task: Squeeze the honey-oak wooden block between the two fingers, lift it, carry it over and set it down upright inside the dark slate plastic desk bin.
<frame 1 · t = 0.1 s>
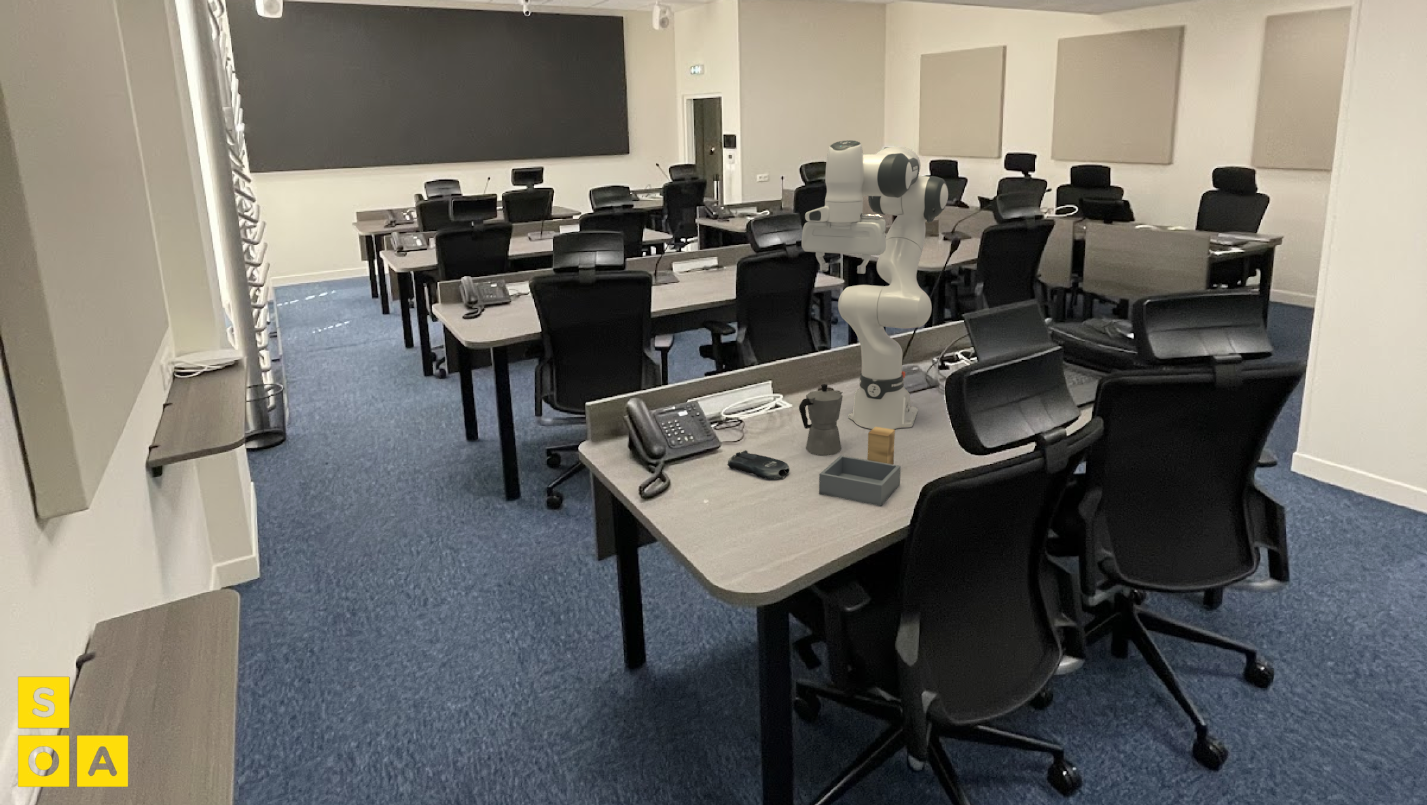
hand: (842, 272, 208), 48 cm above the table, tool pointing down, fingers open, 8 cm apart
coffeepot: (820, 451, 228), on the table
electronic device: (760, 472, 216), on the table
oak block: (880, 469, 215), on the table
desk bin: (859, 489, 204), on the table
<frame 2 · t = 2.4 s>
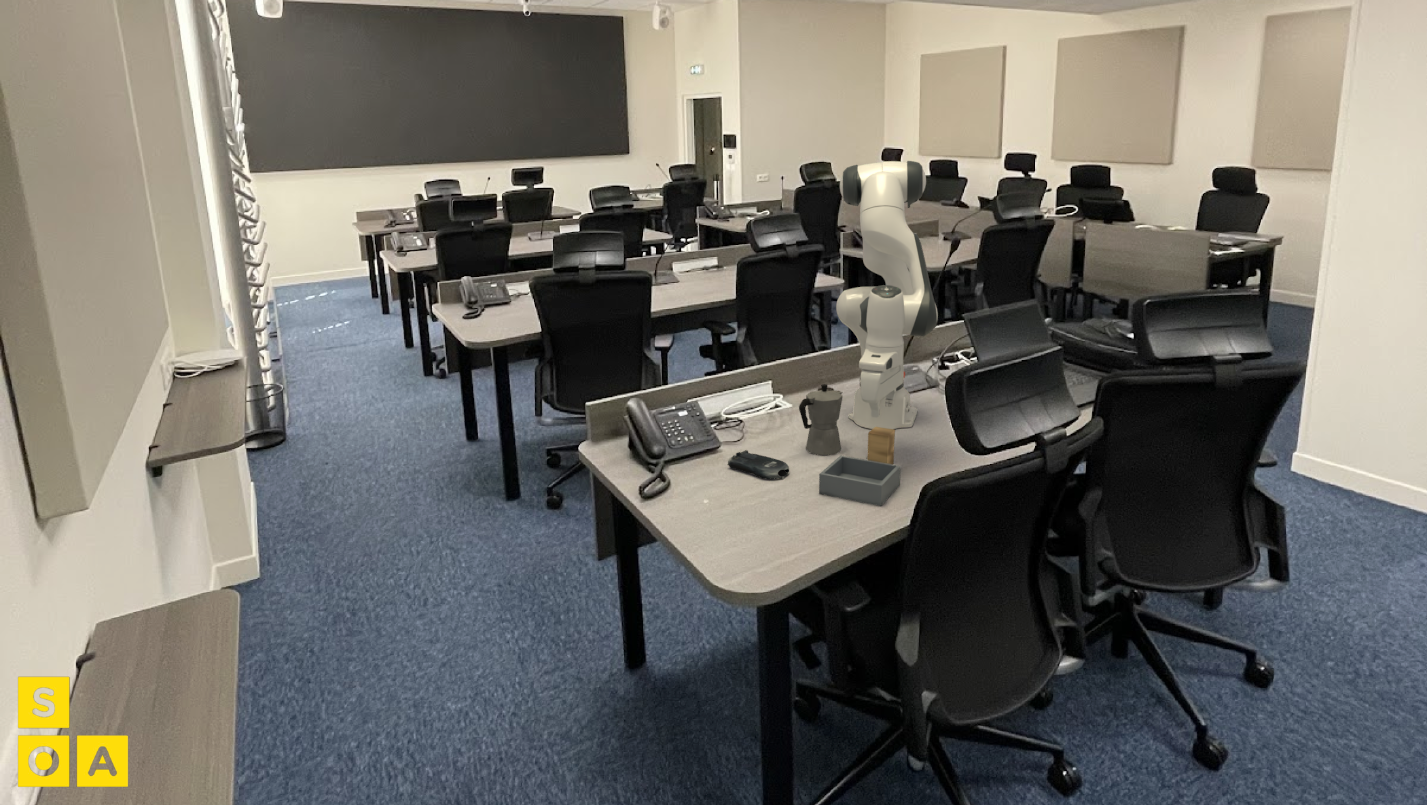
hand: (882, 411, 210), 15 cm above the table, tool pointing down, fingers open, 8 cm apart
nothing on the table moved.
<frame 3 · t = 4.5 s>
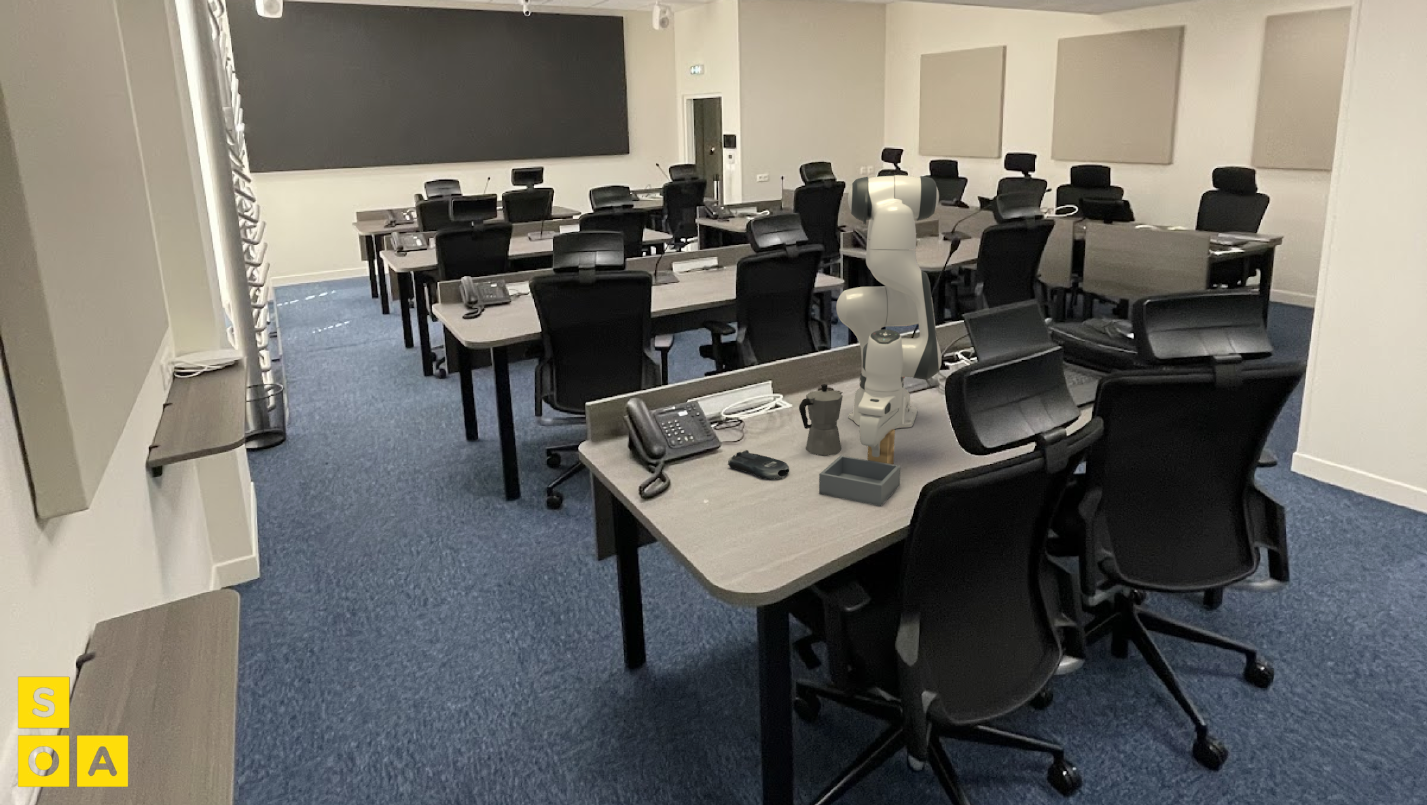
hand: (880, 451, 214), 5 cm above the table, tool pointing down, fingers closed on oak block, 5 cm apart
oak block: (880, 469, 215), on the table, touching gripper
everything else where it was.
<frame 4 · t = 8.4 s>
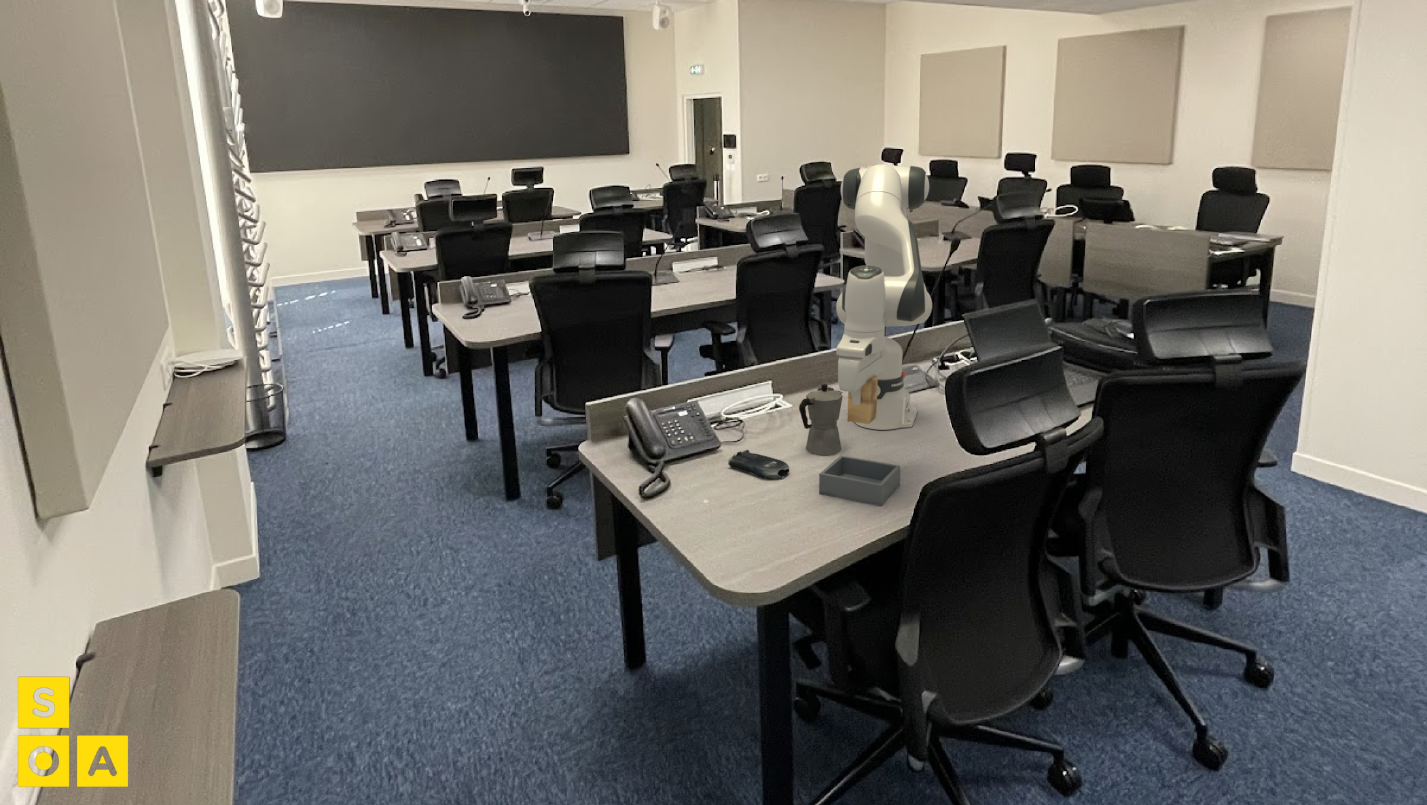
hand: (862, 400, 197), 22 cm above the table, tool pointing down, fingers closed on oak block, 5 cm apart
oak block: (862, 419, 198), point 17 cm above the table, touching gripper
everything else where it was.
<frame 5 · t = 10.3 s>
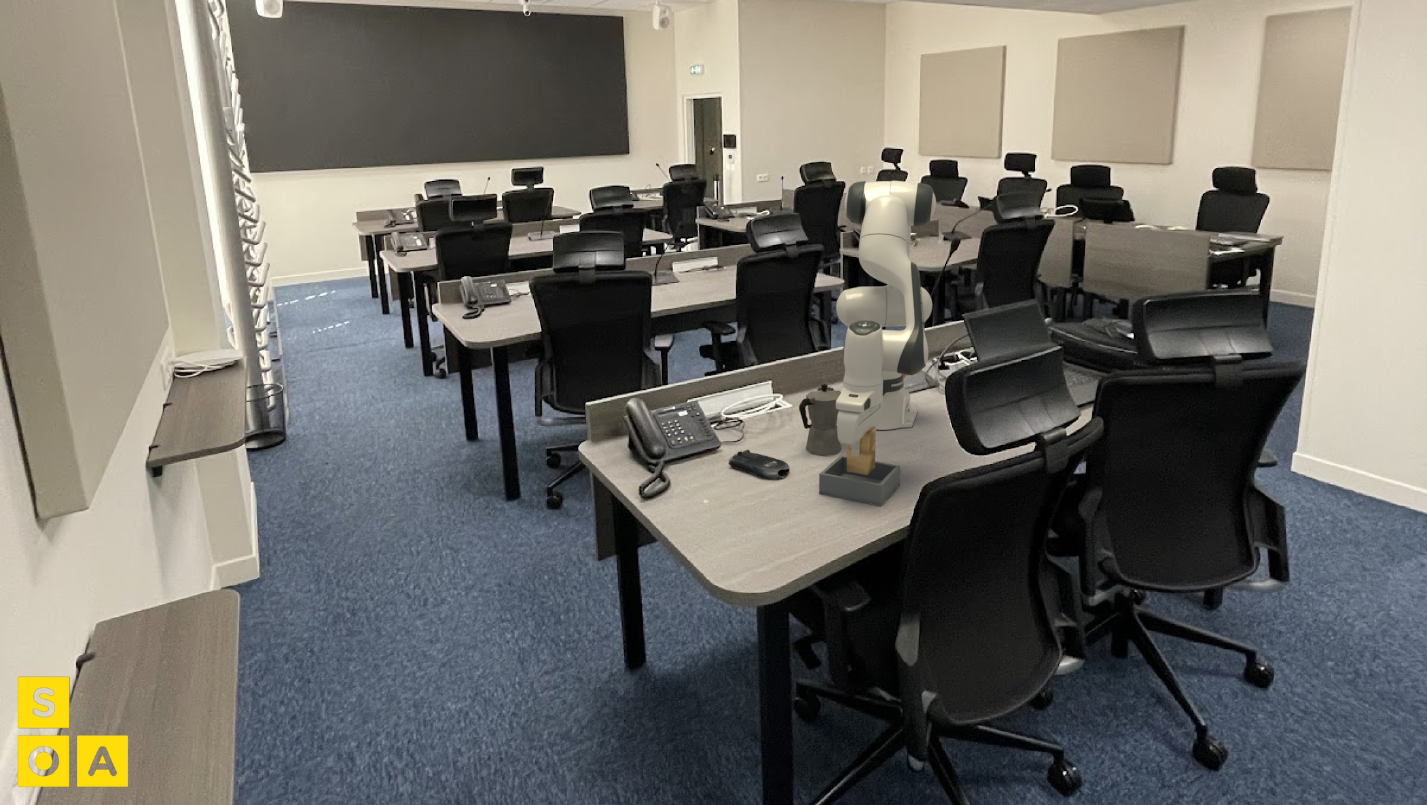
hand: (861, 450, 201), 10 cm above the table, tool pointing down, fingers closed on oak block, 5 cm apart
oak block: (860, 469, 202), point 5 cm above the table, touching gripper
everything else where it was.
when the fingers open (7 cm above the table, at t = 12.1 s): oak block drops 2 cm, resting on desk bin.
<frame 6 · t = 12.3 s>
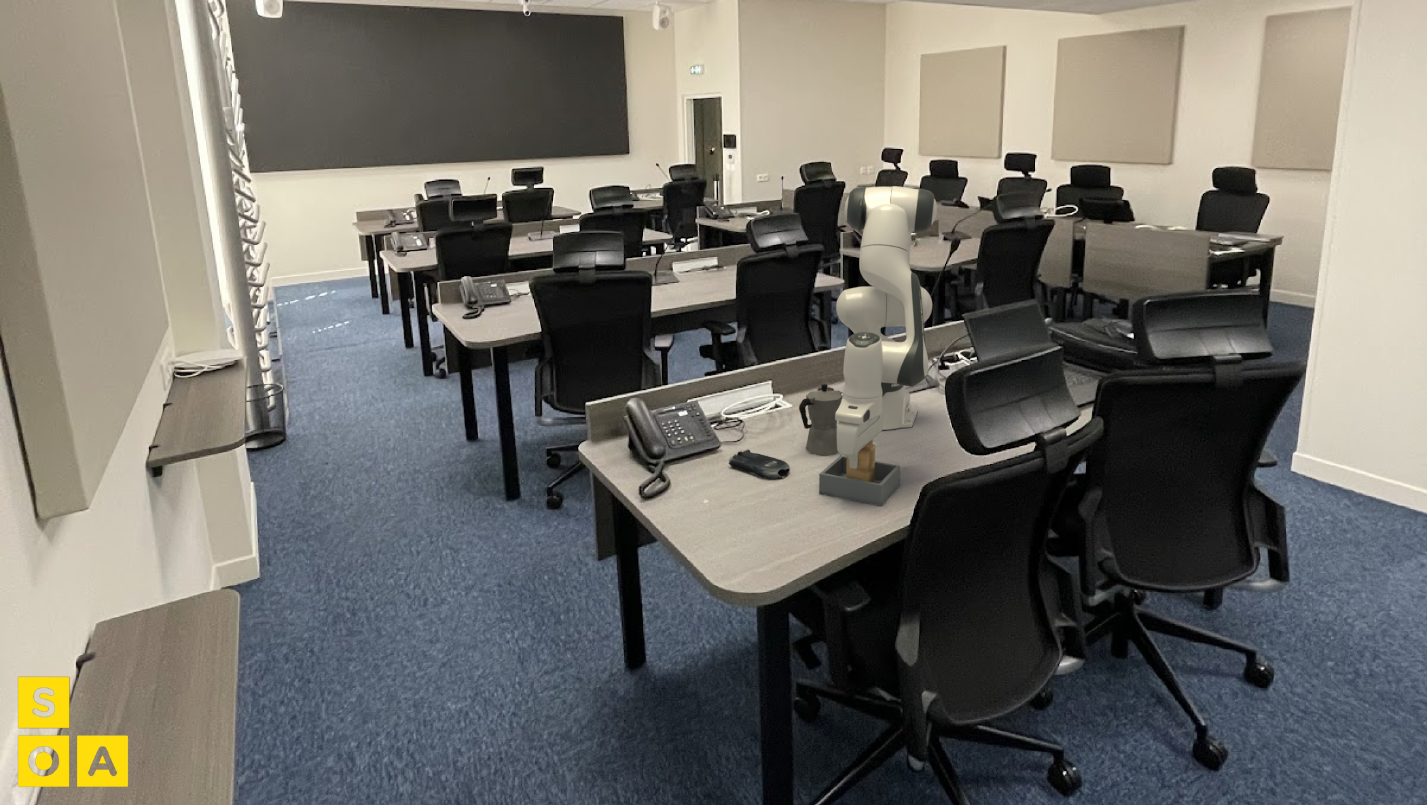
hand: (860, 461, 202), 7 cm above the table, tool pointing down, fingers open, 7 cm apart
oak block: (860, 486, 204), point 1 cm above the table, touching desk bin
everything else where it was.
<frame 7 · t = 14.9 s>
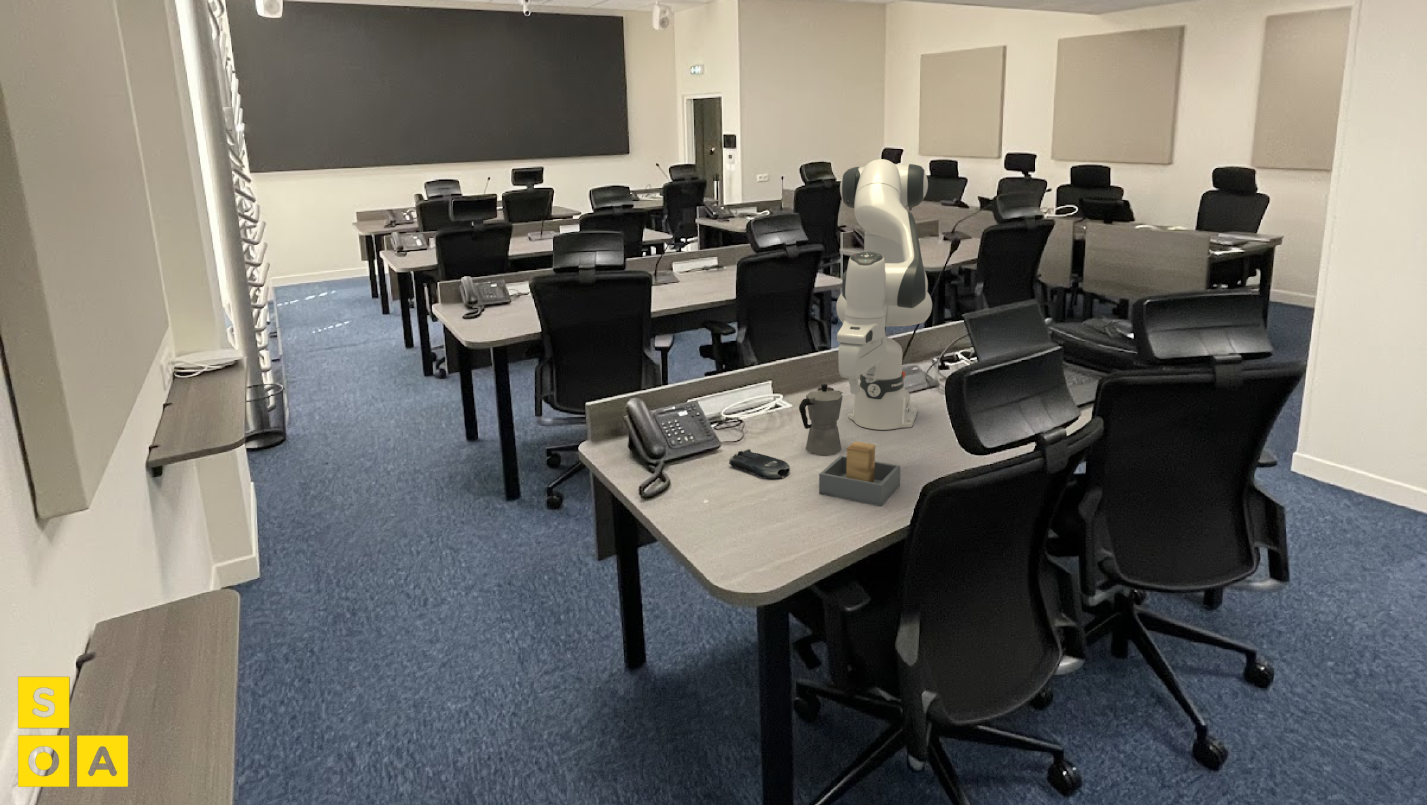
hand: (862, 387, 196), 25 cm above the table, tool pointing down, fingers open, 8 cm apart
nothing on the table moved.
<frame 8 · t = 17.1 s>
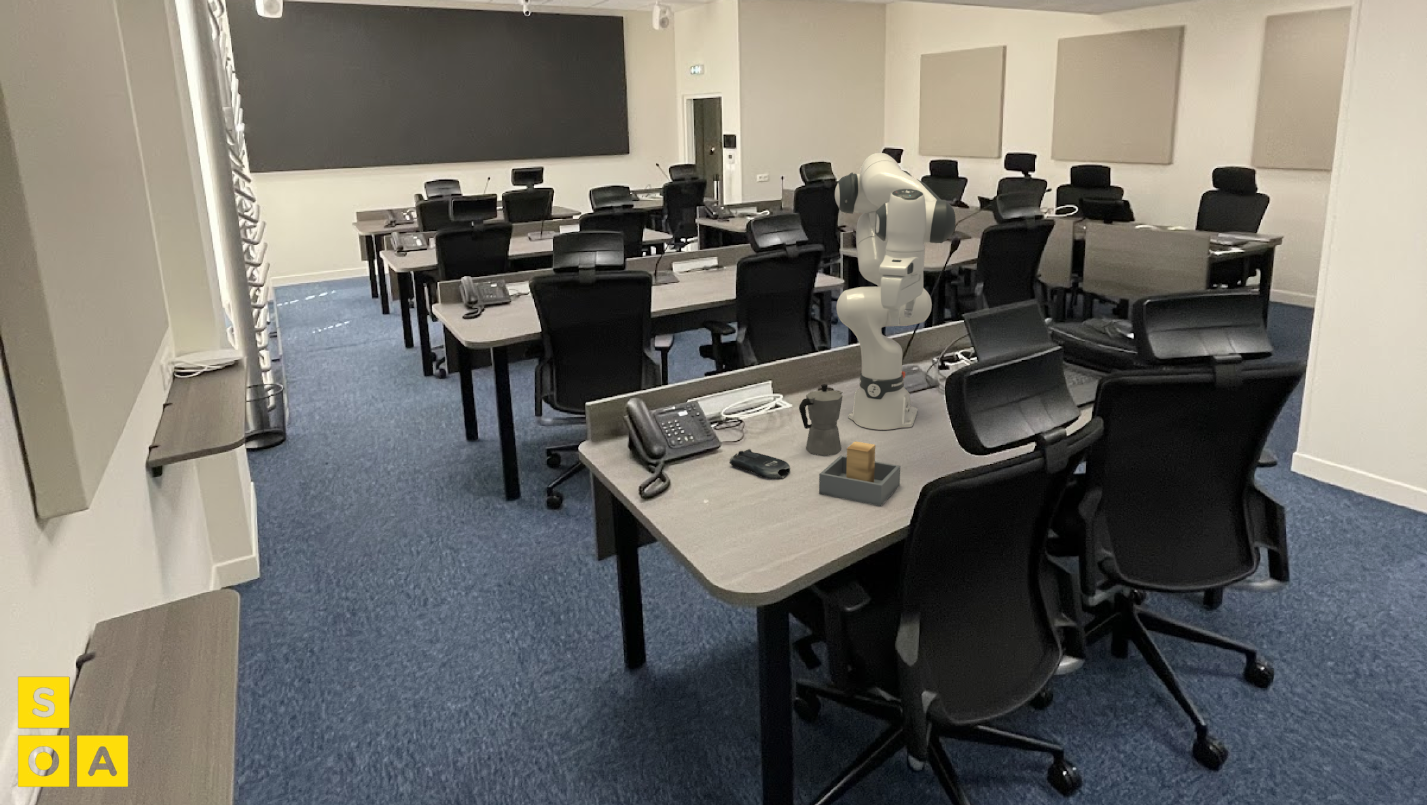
hand: (902, 320, 205), 37 cm above the table, tool pointing down, fingers open, 8 cm apart
nothing on the table moved.
at the end: oak block inside the target area on the desk bin (0.1 cm from its centre), point 0.8 cm above the desk bin's base; oak block tilted 0°; the gripper is holding nothing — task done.
